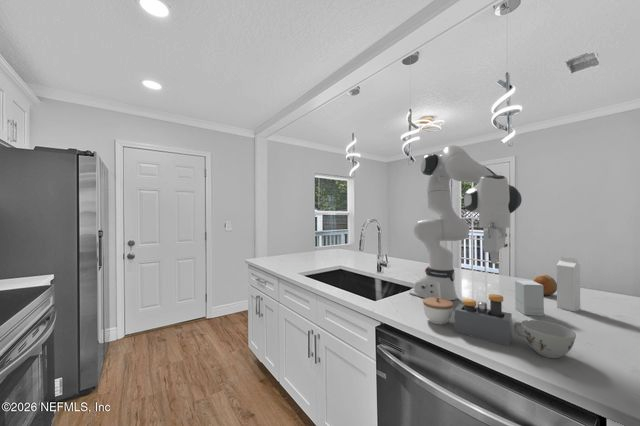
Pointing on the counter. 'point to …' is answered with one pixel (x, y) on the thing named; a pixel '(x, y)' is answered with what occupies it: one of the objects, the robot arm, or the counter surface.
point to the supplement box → (529, 298)
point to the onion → (547, 284)
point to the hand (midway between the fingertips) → (494, 263)
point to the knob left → (469, 305)
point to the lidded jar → (438, 310)
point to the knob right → (496, 305)
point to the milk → (568, 284)
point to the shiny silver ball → (482, 307)
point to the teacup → (547, 337)
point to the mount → (484, 325)
